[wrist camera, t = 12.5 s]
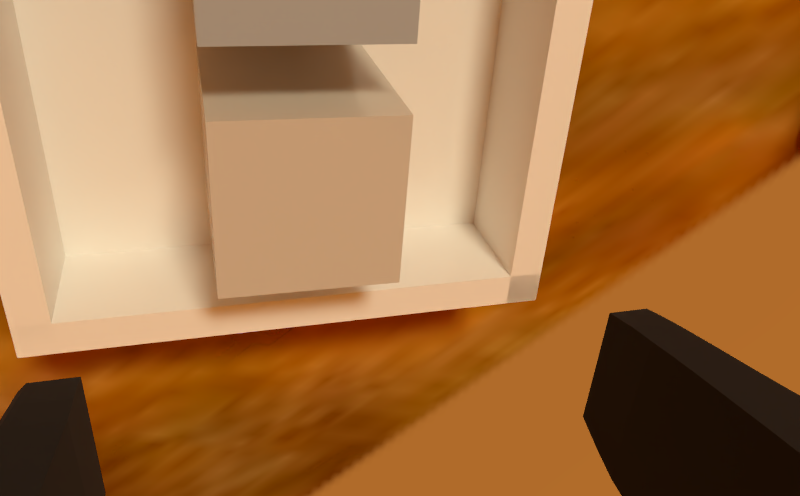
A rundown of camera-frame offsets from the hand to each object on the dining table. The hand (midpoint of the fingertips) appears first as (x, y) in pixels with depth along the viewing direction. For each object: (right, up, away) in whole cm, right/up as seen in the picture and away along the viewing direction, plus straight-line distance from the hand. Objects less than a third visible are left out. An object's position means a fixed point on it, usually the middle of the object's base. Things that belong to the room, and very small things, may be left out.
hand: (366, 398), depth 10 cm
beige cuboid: (-2, +5, +7) cm, 9 cm away
